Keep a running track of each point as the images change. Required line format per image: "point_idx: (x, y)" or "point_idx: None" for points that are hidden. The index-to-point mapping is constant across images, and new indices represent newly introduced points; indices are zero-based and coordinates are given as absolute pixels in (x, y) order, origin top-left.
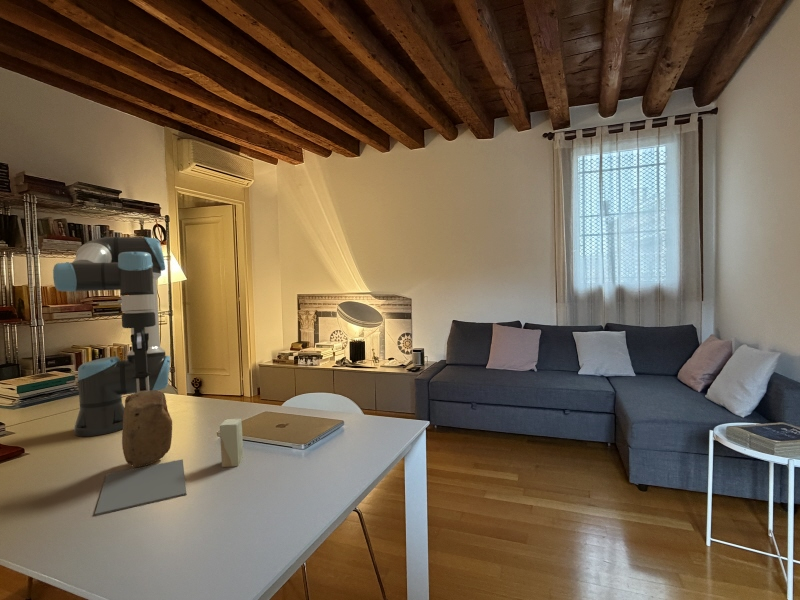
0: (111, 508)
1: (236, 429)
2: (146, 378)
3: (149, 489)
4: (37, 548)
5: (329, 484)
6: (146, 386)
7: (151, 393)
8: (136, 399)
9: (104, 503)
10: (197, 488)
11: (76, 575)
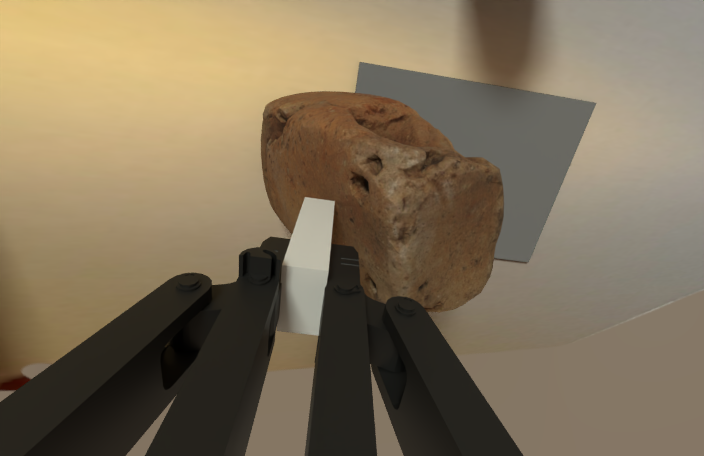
0: (531, 239)
1: None
2: (327, 276)
3: (502, 170)
4: (566, 321)
5: None
6: (330, 250)
7: (434, 225)
8: (446, 284)
9: (496, 247)
10: (582, 70)
11: (694, 281)
